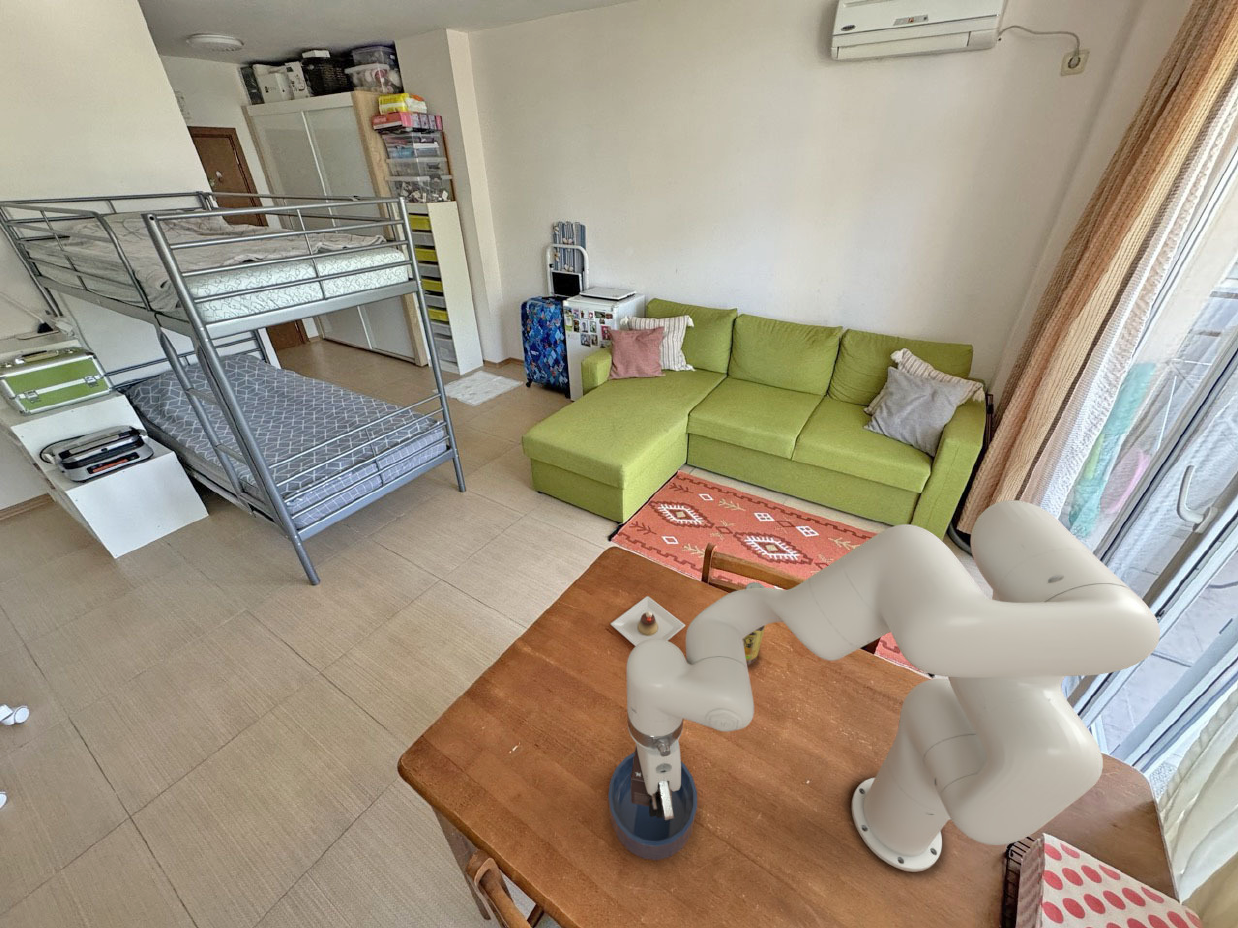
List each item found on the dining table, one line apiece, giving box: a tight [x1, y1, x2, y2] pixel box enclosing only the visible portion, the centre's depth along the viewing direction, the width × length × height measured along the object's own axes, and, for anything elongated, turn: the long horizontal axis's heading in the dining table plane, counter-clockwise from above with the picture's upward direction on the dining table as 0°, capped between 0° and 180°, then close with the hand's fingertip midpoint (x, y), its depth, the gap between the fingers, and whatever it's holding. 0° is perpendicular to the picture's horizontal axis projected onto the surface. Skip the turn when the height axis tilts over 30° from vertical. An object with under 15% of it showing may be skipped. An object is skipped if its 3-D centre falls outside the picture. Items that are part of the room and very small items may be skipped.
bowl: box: [607, 751, 698, 861], centre depth 79 cm, size 14×14×6 cm
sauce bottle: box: [743, 581, 766, 666], centre depth 99 cm, size 6×6×20 cm
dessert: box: [610, 595, 686, 647], centre depth 110 cm, size 12×12×5 cm
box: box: [631, 746, 672, 807], centre depth 74 cm, size 6×6×7 cm
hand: (652, 781), depth 75 cm, fingers closed on box, 7 cm apart
